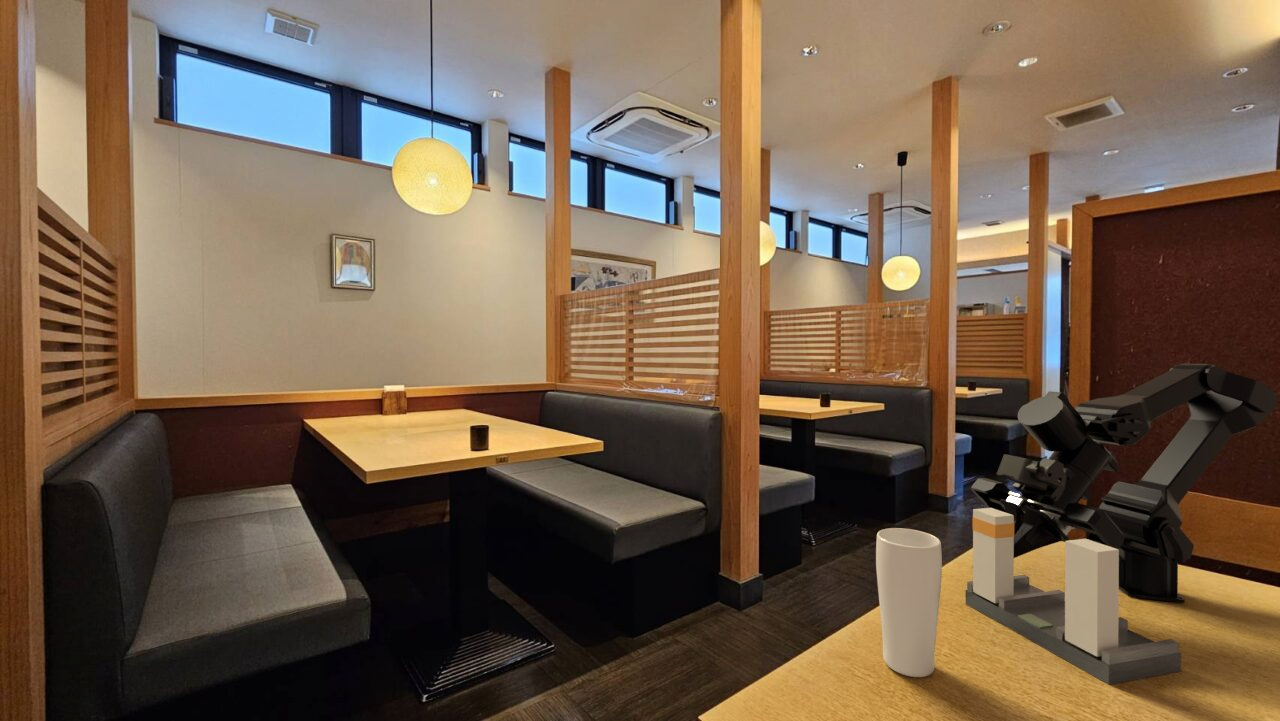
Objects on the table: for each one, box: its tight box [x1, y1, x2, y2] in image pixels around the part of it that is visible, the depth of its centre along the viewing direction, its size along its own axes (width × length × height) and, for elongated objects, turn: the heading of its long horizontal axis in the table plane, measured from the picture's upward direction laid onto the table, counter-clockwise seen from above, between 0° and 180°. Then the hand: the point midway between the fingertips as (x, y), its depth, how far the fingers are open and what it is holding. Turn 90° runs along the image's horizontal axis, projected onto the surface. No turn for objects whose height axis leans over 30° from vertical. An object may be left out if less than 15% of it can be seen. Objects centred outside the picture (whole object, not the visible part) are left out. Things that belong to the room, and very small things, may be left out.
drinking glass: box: [875, 527, 943, 678], centre depth 62 cm, size 7×7×15 cm
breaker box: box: [965, 574, 1182, 685], centre depth 69 cm, size 10×19×3 cm, turn 13°
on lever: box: [1064, 538, 1120, 657], centre depth 62 cm, size 3×4×12 cm
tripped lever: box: [972, 507, 1015, 603], centre depth 74 cm, size 3×4×12 cm
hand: (1004, 556), depth 75 cm, fingers closed
